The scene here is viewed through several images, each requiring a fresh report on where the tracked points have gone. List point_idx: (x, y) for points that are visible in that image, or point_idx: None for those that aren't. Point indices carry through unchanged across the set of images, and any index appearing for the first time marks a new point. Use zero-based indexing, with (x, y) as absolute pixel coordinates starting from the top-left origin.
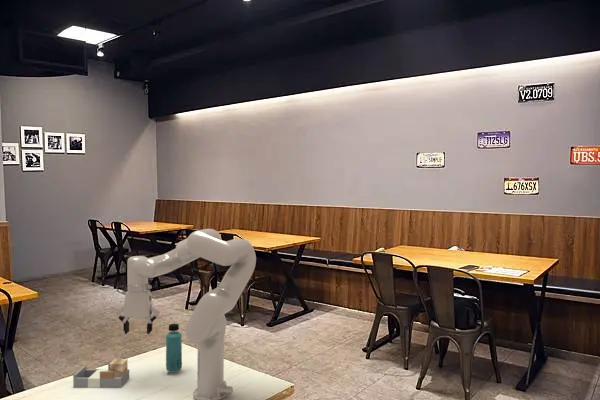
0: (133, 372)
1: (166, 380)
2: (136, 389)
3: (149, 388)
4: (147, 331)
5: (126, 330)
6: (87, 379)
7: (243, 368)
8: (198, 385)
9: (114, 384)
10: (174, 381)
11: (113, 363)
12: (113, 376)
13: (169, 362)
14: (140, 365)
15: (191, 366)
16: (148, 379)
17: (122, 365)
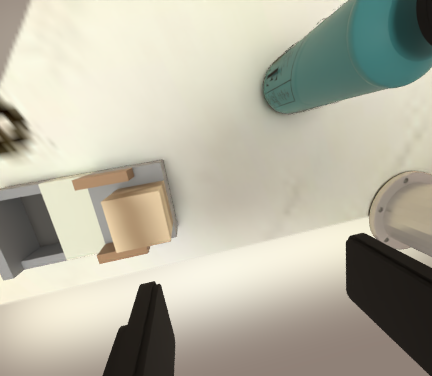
0: (149, 112)
1: (280, 153)
2: (224, 223)
3: (254, 210)
4: (368, 312)
5: (173, 370)
6: (67, 259)
7: None
8: (410, 244)
9: None
10: (303, 156)
11: (130, 247)
12: None
13: (295, 108)
14: (137, 41)
15: None
16: (226, 157)
17: (170, 238)
